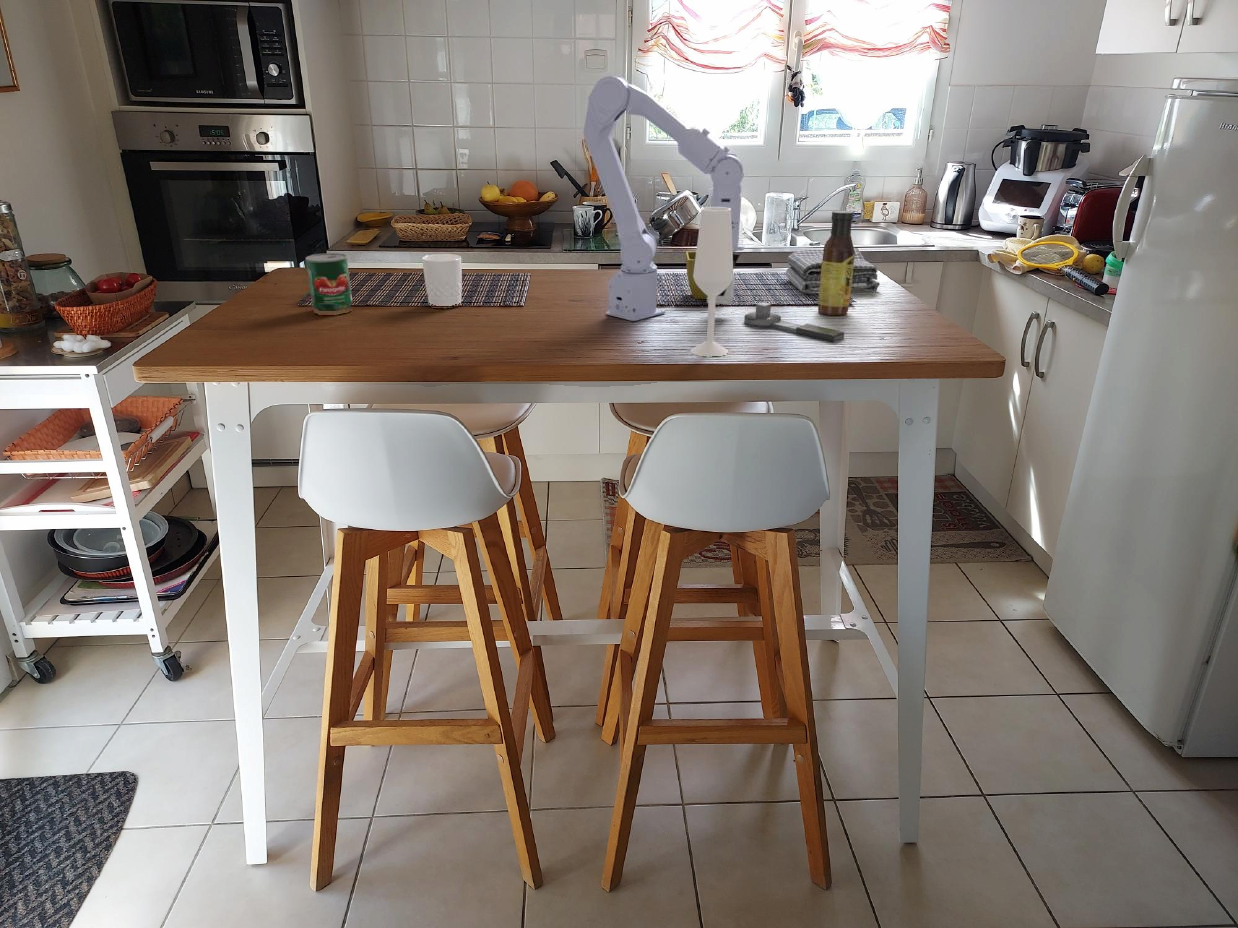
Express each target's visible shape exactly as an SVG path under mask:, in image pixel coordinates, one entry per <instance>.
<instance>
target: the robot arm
mask: <svg viewBox="0 0 1238 928" xmlns="http://www.w3.org/2000/svg"><path fill="white" fill-rule="evenodd" d="M624 113H625V114H626V115H632V116H640V117H643V118H644V119H646V120H647V121H648V122H650V124H652V125H654V126H655V127H657V128H658V129H659V130H660V131H662V132H663V133H665V135H667V136H668V137H670V138H671V139H672V140H674V141H675V142H676V143H677V150H678V154H679V155H681V156H682V157H683V158H684V159H686V160H687V161H688V162H690V163H691V164H692V165H693V166H694V167H695V168H697V170H699V171H700V172H702V173H703V174H704V175H707V174H708V175H710V177H711V181H712V183H713V184H712V195H711V197H710V206H709V207H725V208H730V209H731V224H732V253H733V270H734V268H735V266H736V264H737V261H738V259H739V258H740V256H741V253H740V252H738V251H744V250H745V245H743V244H739V239H740V224H741V211H742V210H741V208H742V207H741V206H742V197H741V194H742V186H741V182H743V181H742V180H743V179H744V166H743V163H742V161H741V160H740V159H739V157H738V156H737V155H736V154H734V153H733V152H730V148H729V147H728V146H726V145H725V147H724V146H722V144H720V143H719V142H718V141H716V140H715V139H714V138H713V137H712V136H710V135H709V134H710V131H709V130H708V129H707V128H706V127H704V128H703V129H702V128H701V127H699V126H692V127H687V126H686V125H685V124H684V123H683V122H682V121H680V120H679V119H678V118H677V117H676V116H675V115H673V114H672V113H671V112H670V111H669V110H668V109H666V107H664V106H663V105H662V104H661V103H660V102H659V101H657V99H655V98H654V97H653V96H652V95H651V94H649V93H648V92H646V91H644V90H643V89H641V88H640V87H638V86H636V85H635V84H630V82H629V81H628V80H627V79H626V78H624V77H622V76H617V75H616V76H613V75H607V76H604V77H601V78H600V79H599V80H597V82H596V83H595V85H594V86H593V88H592V90H591V92H590V93H589V95H588V97H587V110H586V113H585V114H586V116H585V121H584V126H583V137H584V140H585V142H586V145H587V148H588V151H589V154H590V156H591V159H592V163H593V165H594V167H595V170H596V173H597V176H598V178H599V181H600V184H601V186H602V189H603V192H604V196H605V197H606V200H607V202H608V203H607V204H608V206H609V208H610V211H611V213H612V217H613V219H614V222H615V224H616V229H617V236H618V237H617V238H618V240H619V245H620V256H619V257H620V261H621V263H622V264H621V266H620V270H619V271H618V273H616V274H613V276H612V277H610V280H609V282H608V311H606V312H605V314H606V315H609V316H612V317H616V318H620V319H624V320H628V321H631V322H635V321H640V320H643V319H648V318H651V317H654V316H658V315H662V314H666V310H664V309H660V308H657V296H658V295H657V290H658V289H657V288H658V287H657V286H658V285H657V284H658V266H657V265H656V264H655V262H654V261H653V259H654V258H655V256H656V255H657V252H658V243H657V240H656V239H655V237H654V235H652V234H651V233H650V232H649V230H648V229H647V227H646V223H645V222H644V220H643V219H642V217H641V214H640V213H639V210H638V207H637V204H636V201H635V198H634V196H633V193H632V190H631V187H630V184H629V182H628V179H627V176H626V173H625V170H624V168H623V165H622V162H621V160H620V156H619V154H618V152H617V151H618V150H617V148H616V146H615V141H614V140H613V137H612V134H613V132H614V129H615V127H616V125H617V123H618V122H619V119H620V117H622V115H623V114H624ZM725 291H726V289H725V290H724V291H723V292H722V293H721V294H719V295H717V296H724V294H725Z"/></svg>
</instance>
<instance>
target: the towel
mask: <svg viewBox="0 0 1238 928" xmlns="http://www.w3.org/2000/svg"><path fill="white" fill-rule="evenodd" d="M823 250H824V249H803V250H802V249H801V250H796V251H793V253H791V254H790V255H788V256H787V258H786V262H787V264H788V265H789V266H790V267H787V269H786V270H785V276H786V278H787V280H789V281H790V283H792V285H794V286H795V287H796V288H797V289H798V290H799V292H800V293H805V294H816V293H815V292H819V287H820V276H821V266H822V260H823ZM854 251H855V259H854V267H853V277H852V286H851V293H864V292H865V293H868V292H871V293H872V292H877V290H878V288H879V287H880V284H881V283H880V281H877V280H878V274H877V273H878V268H877V266H875V265H874V264H873V263H871V262H870V261H868V260H865V257H864V255H863V254H862V252H861V251H860V250H859V248H856V247H854ZM813 292H814V293H813Z"/></svg>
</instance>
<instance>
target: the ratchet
mask: <svg viewBox="0 0 1238 928" xmlns="http://www.w3.org/2000/svg"><path fill="white" fill-rule="evenodd" d="M771 307H772V304H771V303H768V302H764V301H763V302H758V303H756V304H755V312H749V313H746V314H745V315H744V319H743V323H744V324H745V325H744V326H748V327H751V328H757V329H775V330H779V331H782V332H787V333H792V334H795V335H797V336H798V335H799V336H802V337H806V338H811V339H815V340H818V341H819V340H820V341H824V342H826V343H827V342H828V343H832V344H833V343H836V342H839V341H841V340H844V339H845V331H841V330H838V329H832V328H828V327H825V326H820V325H814V324H809V323H805V324H800V323H799V324H798V323H793V322H789V321H786V320H785V321H784V320H782V316H780V314H777V313H773V312H771V311H772V310H771V309H772V308H771Z"/></svg>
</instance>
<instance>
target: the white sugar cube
mask: <svg viewBox="0 0 1238 928" xmlns="http://www.w3.org/2000/svg"><path fill="white" fill-rule="evenodd" d="M735 280H736V273H733V280H732V282H731V283H730V285H729V286H728V287H727V288H726V291H725V294H724V296H716V301H715V304H720V305H732V302H733V300H734V299H735V285H736V284H735V282H736V281H735ZM706 303H709V296H708V295H707V299H706Z"/></svg>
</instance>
